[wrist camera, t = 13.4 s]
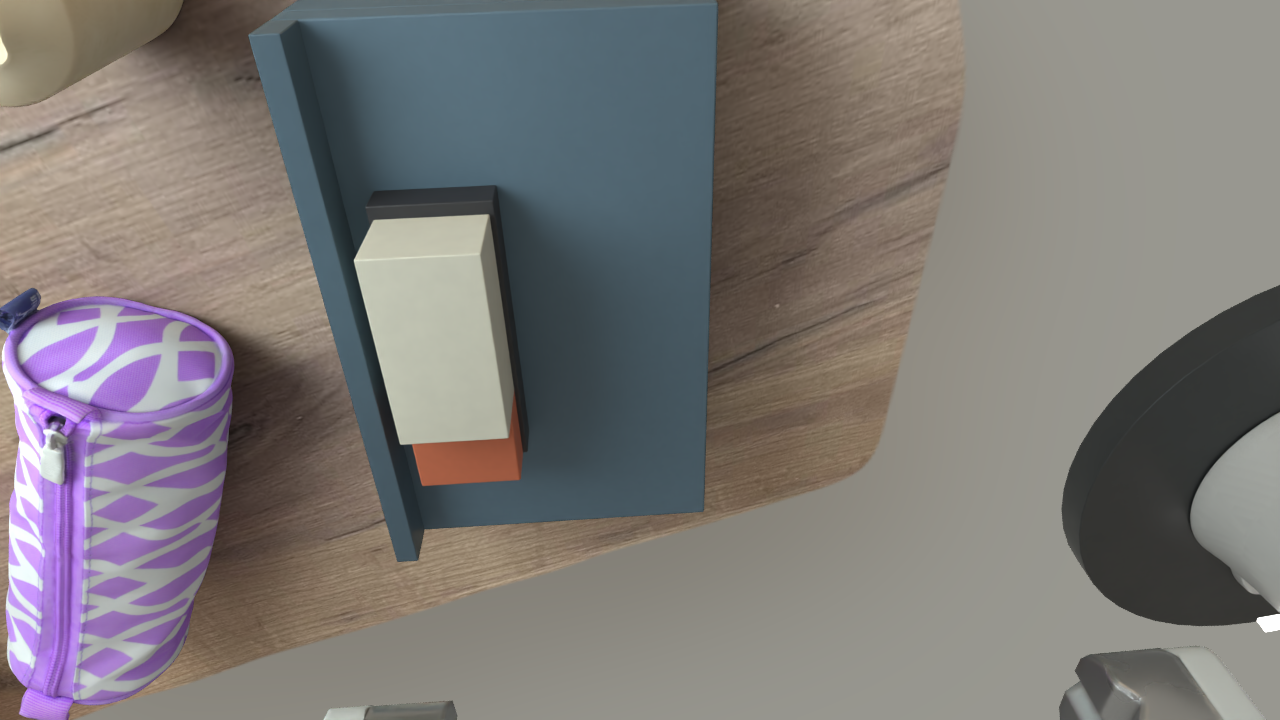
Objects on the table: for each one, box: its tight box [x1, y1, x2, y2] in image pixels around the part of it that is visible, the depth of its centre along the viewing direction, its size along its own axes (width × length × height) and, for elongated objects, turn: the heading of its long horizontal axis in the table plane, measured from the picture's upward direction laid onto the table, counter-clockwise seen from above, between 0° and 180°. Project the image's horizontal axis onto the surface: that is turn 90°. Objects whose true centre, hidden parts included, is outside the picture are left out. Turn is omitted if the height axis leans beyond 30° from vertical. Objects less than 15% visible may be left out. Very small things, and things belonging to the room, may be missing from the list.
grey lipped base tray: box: [248, 0, 718, 562], centre depth 36 cm, size 15×24×8 cm, turn 2°
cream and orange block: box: [354, 185, 529, 486], centre depth 32 cm, size 12×5×5 cm, turn 1°
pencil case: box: [0, 288, 234, 720], centre depth 40 cm, size 22×9×10 cm, turn 160°
